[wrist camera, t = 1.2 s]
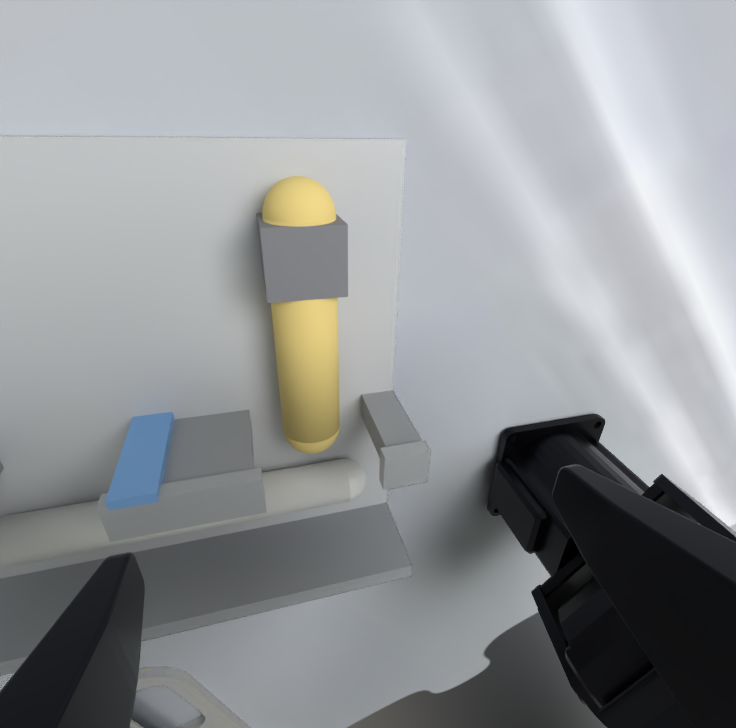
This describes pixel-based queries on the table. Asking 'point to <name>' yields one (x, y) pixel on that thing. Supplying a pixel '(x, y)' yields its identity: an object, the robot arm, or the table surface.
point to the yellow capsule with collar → (305, 305)
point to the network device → (190, 698)
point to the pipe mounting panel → (187, 381)
